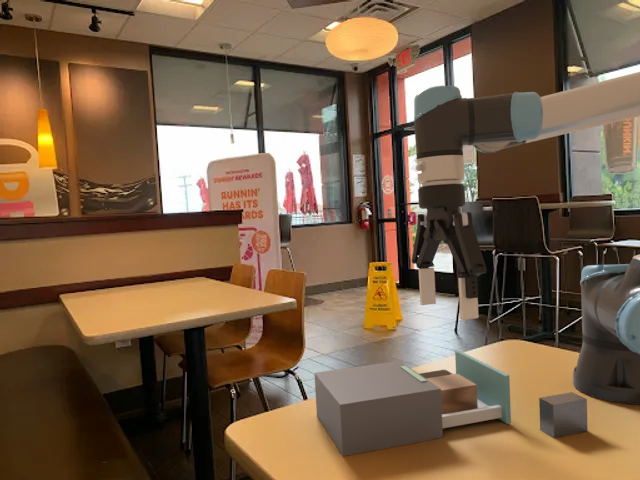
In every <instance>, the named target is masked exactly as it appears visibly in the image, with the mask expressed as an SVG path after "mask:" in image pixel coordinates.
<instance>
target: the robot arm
mask: <svg viewBox="0 0 640 480" xmlns="http://www.w3.org/2000/svg"><path fill="white" fill-rule="evenodd" d="M413 102H414V103H413V104H414V105H413V108H414V109H413V111H414V112H413V116H414V117H413V119H414V120H413V121H414V122H413V124H414V137H415V150H416V152H415V154H416V165H415V168H414V169H415V170H416V172H417V183H418V184H420V185H421V186H419V187H418V189H417V192H418V193H417V194H418V207H419V209H422V210H426V213H418V214H417V216H416V217H417V226H416V232H415V238H414V244H413V252H412V256H411V263H412V264H414V265H416V269H418V280H419V281H418V283H419V284H418V285H419V286H418V287H419V300H420V301H419V302H420V306H427V305H434V304H436V303H437V301H436V276H435V268H434V267H435V264H434V260H435V257H436V254H437V251H438V249H439V247H440V244H441V242H442V241H443V243H444V244H446V245H447V246H448V248H449V250H450V253H451V255H452V257H453V259H454V261H455V264H456V266H457V268H458V270H459V274H458V275H457V278H458V295H459V297H458V298H459V299H458V300H459V318H460V320H462V321H466V320H472V319H473V320H474V319H479V318H480V317H479V300H478V299H479V298H478V296H479V291H478V290H479V289H478V288H479V286H478V283H479V282H478V278H479V276H480V275H483V274H486V273H487V272H488V269H487V266H486V262H485V259H484V257H483V253H482V251H481V247H480V244H479V240H478V238H477V235H476V232H475V231H476V230H475V228H474V225H473V224H474V223H473V215H472V212H470V211H465V212H464V211H463V212H460V211H459V208H460V207H464V206H465V205H466V189H465V188H466V187H465V185H464V183H462V182H463V181H464V179H465V167H464V163H465V162H464V161H465V160H464V146H473V148H474V149H475V150H477V151H478V152H481V153H482V154H483V153H484V154H493V153H497V152H500V151H501V150H503V149H504V150H505V149H508V148H512V147H517V146H520V145H523V144H529V143H532V142H536V141H537V142H538V141H541V140H546V139H549V138H553V137H558V136H562V135H567V134H571V133H575V132H579V131H580V132H581V131H584V130H587V129H593V128H597V127H601V126H605V125H608V124H613V123H617V122H622V121H626V120H630V119H635V118H639V117H640V71H637V72H633V73H629V74H625V75H621V76H617V77H615V78H610V79H607V80H602V81H598V82H595V83H590V84H585V85H582V86H578V87H574V88H571V89H566V90H563V91H559V92H554V93H552V94H547V95H543V96H540V95H539V93H537V92H535V91H527V92H519V91H514V92H513V93H505V94H504V93H503V94H498V95H497V94H496V95H486V96H479V97H469V98H467V97H463V96H462V95H461V90H460V88H459V87H457V86H455V85H437V86H436V85H435V86H431V87H427V88H424V89H422V90H420V91H418V92H417V93H416V94H415V97H414V101H413ZM580 274H581V277H580V281H579V285H580V289H581V290H580V291H581V328H582V345H581V348H580V351H579V355H578V358H577V363H576V366H575V367H574V368H573V371H572V382H573V383H572V384H573V386H574V387H575V389H577V390H578V392H579V391H580V392H581V393H584V394H586V395H587V396H590V397H593V398H597V399H600V400H604V401H609V402H615V403H622V404H630V405H631V404H633V405H636V404H637V405H640V254H637V255H633V257H632V259H631V261H630V263H625V264H619V263H618V264H592V265H586V266H584V267H583V268H582V270H581V273H580Z"/></svg>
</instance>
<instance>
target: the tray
mask: <svg viewBox="0 0 640 480" xmlns="http://www.w3.org/2000/svg"><path fill="white" fill-rule="evenodd" d="M454 354H455V357H454V358H455V374H459V375H461V376H463V377H464V378H466V379H468V380H469V381H471V382H473V383H475V384H476V385H477V404H478V408H477V409H472V410H466V411H460V412H454V413H448V414H443V415H442V429H446V428H452V427H458V426H464V425H469V424H474V423H479V422H480V423H482V422H484V421H485V422H486V421H489V420H490V421H491V420H496V419H497V420H500V421H502V422H503V423H505V424H511V423H512V418H511V417H512V415H511V414H512V413H511V387H510V383H511V382H510V375H509V374H507V373H506V372H504V371H501V370H500V369H497V368H496V367H493V366H491V365H489V364H488V363H485V362H483V361H481V360H479V359H477V358H475V357H473V356H471V355H469V354H468V353H465V352H463V351H461V350H455V351H454Z"/></svg>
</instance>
